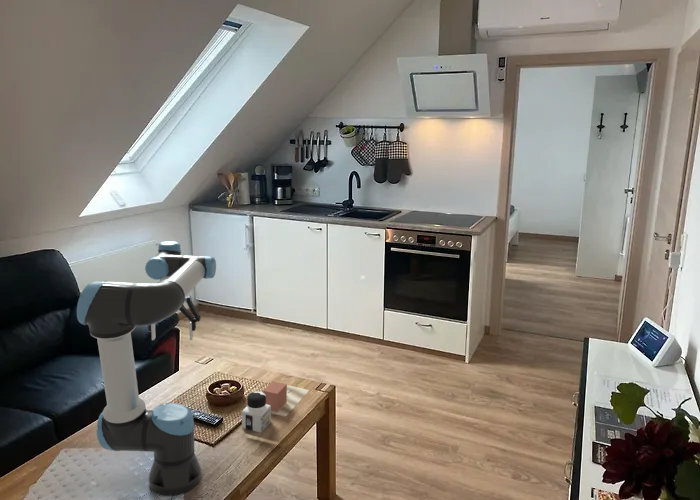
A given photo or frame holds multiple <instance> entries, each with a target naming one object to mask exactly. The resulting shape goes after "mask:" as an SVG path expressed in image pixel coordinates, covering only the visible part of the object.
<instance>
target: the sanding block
mask: <svg viewBox="0 0 700 500" xmlns="http://www.w3.org/2000/svg"><path fill="white" fill-rule="evenodd" d="M287 385H288V384H286V383H283V382H277V381H273V380H272V382H270V383H269V384H268V385H267V386H266V387H265V388H264V389H263V390H262V392H263V393H264V394H265V395H266V404H267V405H271V412H274V413H278V412H279V411H280V410H281V408H282V407H283V406H284V405H285V404H286V403H287Z"/></svg>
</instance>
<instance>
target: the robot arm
mask: <svg viewBox="0 0 700 500" xmlns="http://www.w3.org/2000/svg"><path fill="white" fill-rule="evenodd" d="M157 248H158V249H157V252H158V253H157V254H155V255H154V256H152V257H150V258H149V260H148V261H147V262H146V263H145V267H144V270H145V273H146V275H147V276H148V277H149V278H150V279H152V280H155V281H157V280H159V281H158V282H153V283H152V282H151V283H150V282H122V281H108V280H103V281H91V282H90V283H88V284H86V286H85V287H84V288H83V289H82V291H81V293H80V295H79V298H78V301H77V307H76V318H77V321H78V322H79V324H81V325H84V326H86V325H87V326H88V330H89V334H90V336H91V337H93V338H95V339H97V342H96V343H97V346H98V353H99V360H100V367H101V373H102V379H103V386H104V392H105V398H106V406H105V407H104V408H103V410H102V412H100V414H99V416H98V419H97V423H96V426H97V429H96V437H97V442H98V444H99V446H100V447H101V448H103V449H104V450H107V451H114V452H121V451H124V452H125V451H127V452H152V453H153V462H152V465H151V468H150V472H149V475H148V483H149V484H148V486H149V488H150V489H151V491H152V492H154V493H155V494H157V495H161V496H177V495H181V494H185V493H187V492H189V491H191V490H192V489H194V488H195V487H196V486H197V485H199V482H200V481H201V478H202V469H201V465H200V463H199V461H198V457H197V456H196V454H195V422H194V414H193V412H192V410H191V409H190V408H189V407H188V406H187V405H184V404H181V403H175V402H168V403H167V402H166V403H165V404H163V403H162V404H159V405H157V406H156V407H154V408H153V409H152V410H151V409H147V407H146V402H145V400H143V399H142V398H141V397H139V396H140V395H139V388H138V379H137V371H136V364H135V357H134V355H135V354H134V349H133V340H132V333H133V332H134V330H135V329H136V327H148V328H147V329H148V331H149V332H151V333H150V334H151V341H155V339H156V324H157V323H158V324H159V323H160V322H162V321H164V320H166V319H168V318H170V317H172V316H173V315H174V314H175V313H177V312H178V311H181V313H182V314H183V315H184V317H186V318H187V320H189V321H190V322H189V341H193V339H194V332H195V331H196V330H197V329H196V328H197V323H198V322H200V321H201V318H202V317H201V314H200V313H199V312H198V309H197V308H196V306H195V305H194V303H193V301H192V296H191V295H189V294H190V293H191V292H192V291H193V290H194V288H195V287H196V286H197V285H198V284H199V283H200V282H201V280H202V279H204V280H205V279H206V280H207V279H213V278H214V277H215V275H216V271H217V261H216V259H215V257H214V256H209V255H184V254H183V255H182V250H181V249H182V248H181V244H180V243H179V242H178V241H172V240H171V241H170V240H167V241H166V240H165V241H161V242H160V243H158V247H157ZM185 303H186V304H187V306H188V308H189V310H190V311H189V310H188V308H186V307H185V306H184V304H185Z"/></svg>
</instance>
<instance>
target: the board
mask: <svg viewBox="0 0 700 500" xmlns="http://www.w3.org/2000/svg"><path fill="white" fill-rule="evenodd" d="M309 391H310V389H307V388H302V387H296V386H293V385H288V384H287V403H286V404H285V405H284V406H283V407H282V408H281V410H280V411H279V412H278V413H274V412H271V415H277V416H280V417H285V418H286V417H287V416H288V415H289V414H290V412H292V410H293V409H294V408H295V407H296V406H297V405H298V404H299V402H300V401H301V400H302V399H304V398H305V396H306V394H308V392H309Z"/></svg>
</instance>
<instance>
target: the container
mask: <svg viewBox="0 0 700 500" xmlns="http://www.w3.org/2000/svg"><path fill="white" fill-rule="evenodd" d="M246 403H247V404H246V407H244V409H243V410H242V411H241V429H245V430H247V431H248V430H249V431H253V432H257V433H263V431H264V430H265V429H266V428H267V427H268V426H269V424H271V422H272V421H271V420H272V419H271V418H272V413H271V405H267V404H266V395H265V394H264V393H263V391H252V392H250V393H249V394H248V395H247V399H246Z"/></svg>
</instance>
